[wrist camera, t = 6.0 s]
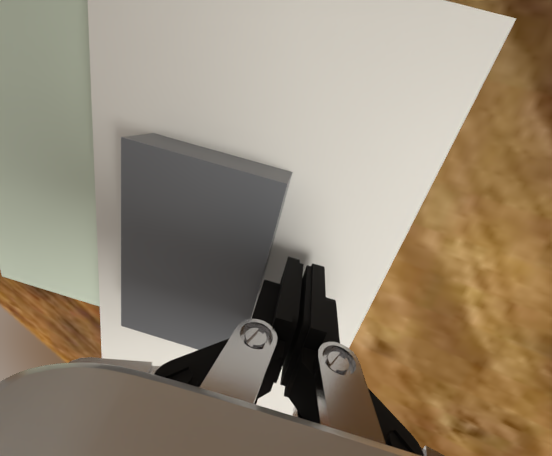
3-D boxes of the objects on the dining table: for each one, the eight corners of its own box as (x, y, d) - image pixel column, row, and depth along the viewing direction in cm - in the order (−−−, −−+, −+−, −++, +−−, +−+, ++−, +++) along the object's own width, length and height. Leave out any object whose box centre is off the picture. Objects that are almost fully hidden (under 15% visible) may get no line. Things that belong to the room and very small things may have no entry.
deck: (153, -32, 12) (83, -92, 9) (455, 47, 12) (516, 18, 8) (139, 322, 21) (102, 365, 18) (309, 375, 21) (306, 430, 17)
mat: (-62, -61, 13) (-76, -67, 13) (142, -7, 13) (135, -12, 12) (8, 272, 21) (1, 276, 21) (133, 311, 21) (129, 315, 21)
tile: (153, 133, 11) (121, 136, 9) (292, 172, 11) (287, 184, 9) (145, 299, 15) (121, 325, 13) (249, 331, 15) (239, 362, 13)
